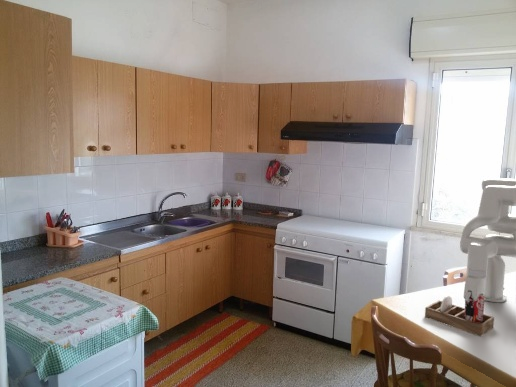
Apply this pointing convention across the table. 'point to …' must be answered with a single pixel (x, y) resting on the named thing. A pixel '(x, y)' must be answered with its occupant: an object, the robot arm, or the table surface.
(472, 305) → the robot arm
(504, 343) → the table surface
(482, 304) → the soda can
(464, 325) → the rack
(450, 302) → the plate
